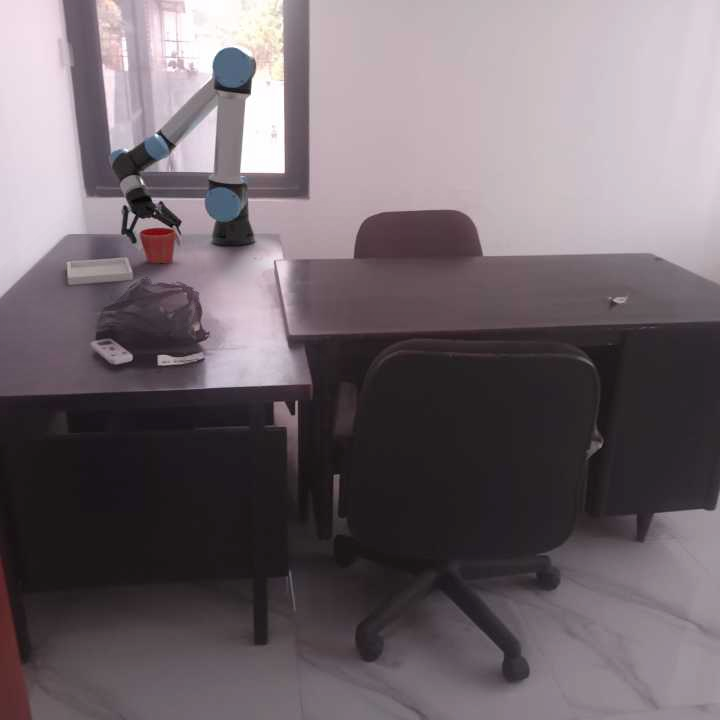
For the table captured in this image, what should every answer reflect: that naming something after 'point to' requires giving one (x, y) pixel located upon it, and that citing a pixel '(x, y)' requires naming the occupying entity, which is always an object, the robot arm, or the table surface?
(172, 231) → the flower pot
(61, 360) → the table surface
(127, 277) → the drip tray
